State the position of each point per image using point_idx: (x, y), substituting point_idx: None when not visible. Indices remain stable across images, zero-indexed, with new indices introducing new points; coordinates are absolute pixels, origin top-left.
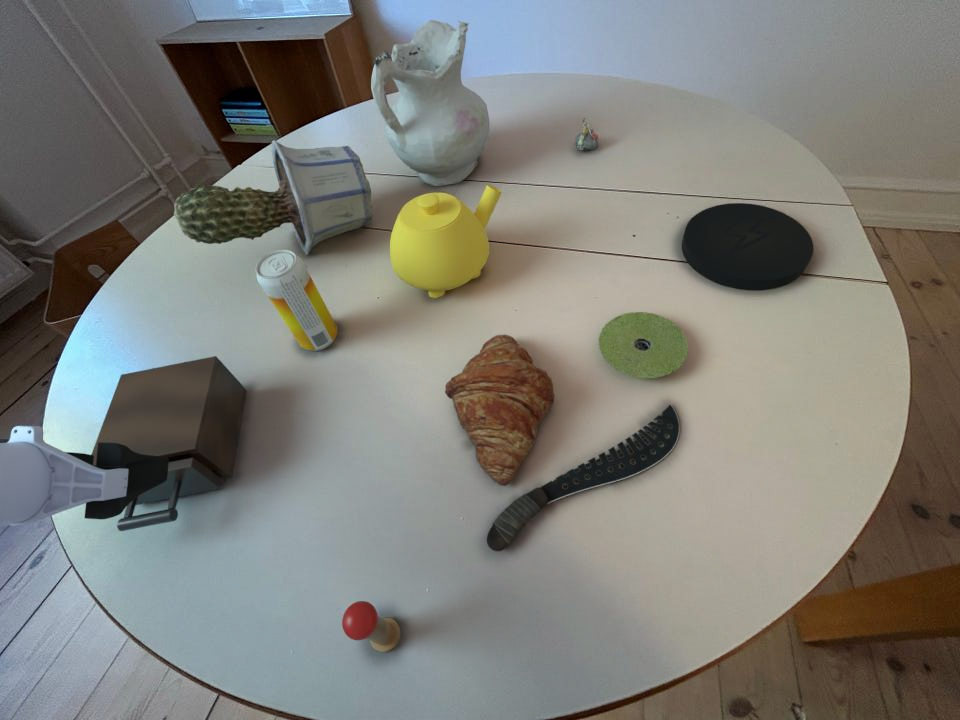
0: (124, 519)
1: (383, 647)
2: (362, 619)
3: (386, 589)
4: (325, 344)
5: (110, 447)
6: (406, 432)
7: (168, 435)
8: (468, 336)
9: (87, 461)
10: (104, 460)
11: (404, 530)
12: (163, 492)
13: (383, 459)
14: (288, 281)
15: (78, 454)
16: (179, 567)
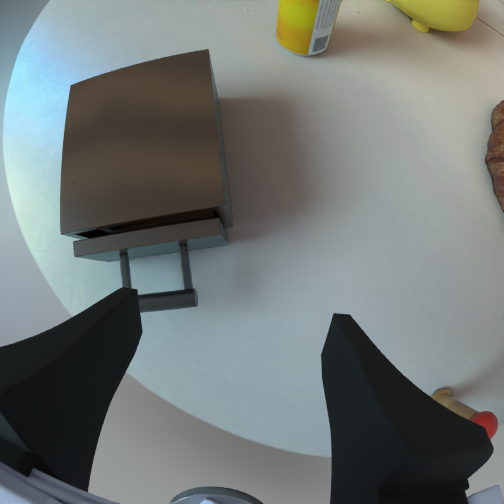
0: None
1: None
2: (495, 431)
3: (441, 364)
4: (320, 50)
5: (467, 459)
6: (444, 187)
7: (168, 178)
8: (468, 86)
9: (133, 309)
10: (425, 484)
11: (455, 306)
12: (155, 252)
13: (428, 219)
14: None
15: (118, 306)
16: (199, 343)
